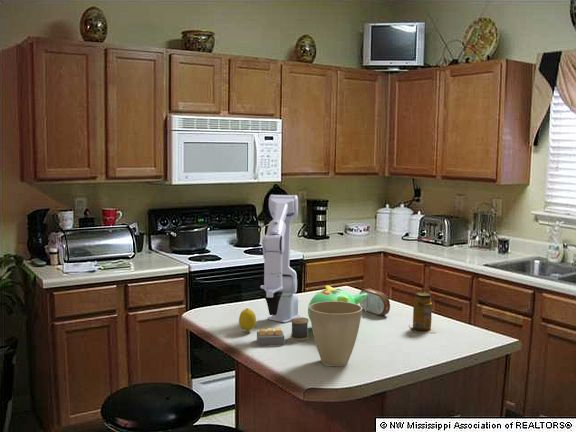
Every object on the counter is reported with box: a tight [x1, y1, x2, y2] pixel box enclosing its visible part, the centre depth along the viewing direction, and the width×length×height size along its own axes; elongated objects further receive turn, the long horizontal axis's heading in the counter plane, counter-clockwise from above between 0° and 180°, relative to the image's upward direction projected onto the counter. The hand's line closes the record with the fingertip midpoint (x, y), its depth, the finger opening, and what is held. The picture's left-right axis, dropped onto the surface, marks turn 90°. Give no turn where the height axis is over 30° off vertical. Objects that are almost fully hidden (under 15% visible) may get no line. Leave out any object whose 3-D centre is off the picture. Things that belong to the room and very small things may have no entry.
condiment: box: [408, 292, 437, 334], centre depth 206 cm, size 7×8×12 cm
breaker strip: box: [256, 327, 285, 347], centre depth 192 cm, size 8×6×4 cm
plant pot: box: [308, 301, 363, 367], centre depth 174 cm, size 15×15×16 cm
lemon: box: [238, 307, 257, 333], centre depth 202 cm, size 6×6×8 cm
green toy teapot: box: [307, 285, 367, 322], centre depth 204 cm, size 18×17×15 cm
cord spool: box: [290, 316, 310, 342], centre depth 196 cm, size 6×6×6 cm
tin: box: [359, 288, 391, 317], centre depth 227 cm, size 15×3×8 cm, turn 33°
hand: (273, 314), depth 196 cm, fingers closed
